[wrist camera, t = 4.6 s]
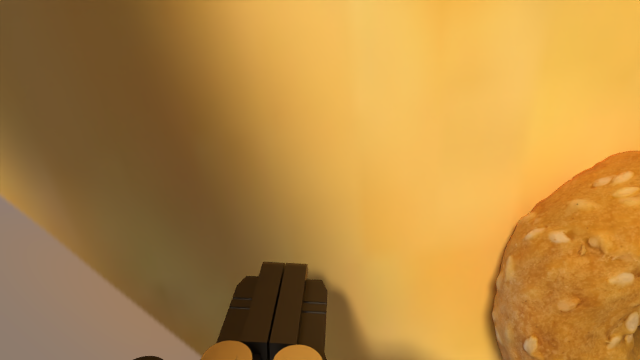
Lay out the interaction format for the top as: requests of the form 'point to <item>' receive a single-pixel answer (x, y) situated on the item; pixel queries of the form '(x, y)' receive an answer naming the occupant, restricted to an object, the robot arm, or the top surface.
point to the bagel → (575, 270)
